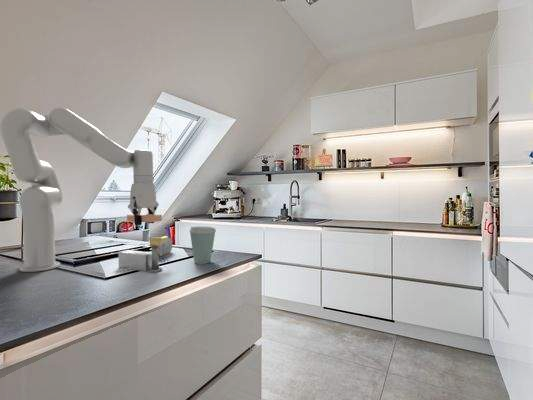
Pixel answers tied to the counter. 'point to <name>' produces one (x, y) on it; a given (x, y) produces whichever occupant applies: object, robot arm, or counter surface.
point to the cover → (146, 217)
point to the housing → (140, 260)
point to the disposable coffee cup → (202, 243)
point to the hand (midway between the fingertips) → (144, 223)
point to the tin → (165, 247)
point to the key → (158, 240)
